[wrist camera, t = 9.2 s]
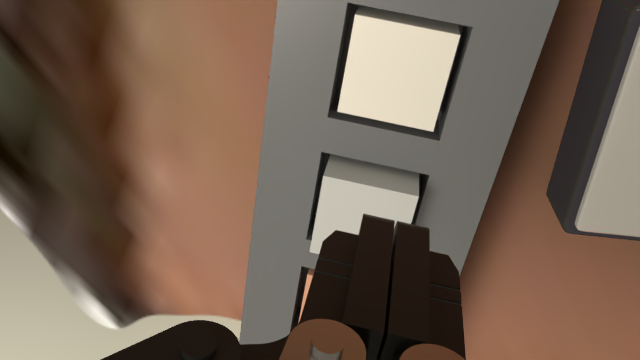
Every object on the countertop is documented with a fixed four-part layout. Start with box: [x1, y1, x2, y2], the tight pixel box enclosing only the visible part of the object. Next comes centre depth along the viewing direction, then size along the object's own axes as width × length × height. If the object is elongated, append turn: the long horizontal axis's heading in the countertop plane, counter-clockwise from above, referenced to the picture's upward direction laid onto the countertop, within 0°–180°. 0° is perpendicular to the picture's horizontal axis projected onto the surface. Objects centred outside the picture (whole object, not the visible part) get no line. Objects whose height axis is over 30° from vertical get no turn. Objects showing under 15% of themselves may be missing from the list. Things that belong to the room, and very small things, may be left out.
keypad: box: [239, 0, 559, 344], centre depth 29 cm, size 11×24×4 cm, turn 171°
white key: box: [337, 5, 460, 132], centre depth 25 cm, size 4×4×2 cm
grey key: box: [310, 154, 419, 254], centre depth 27 cm, size 4×4×2 cm
